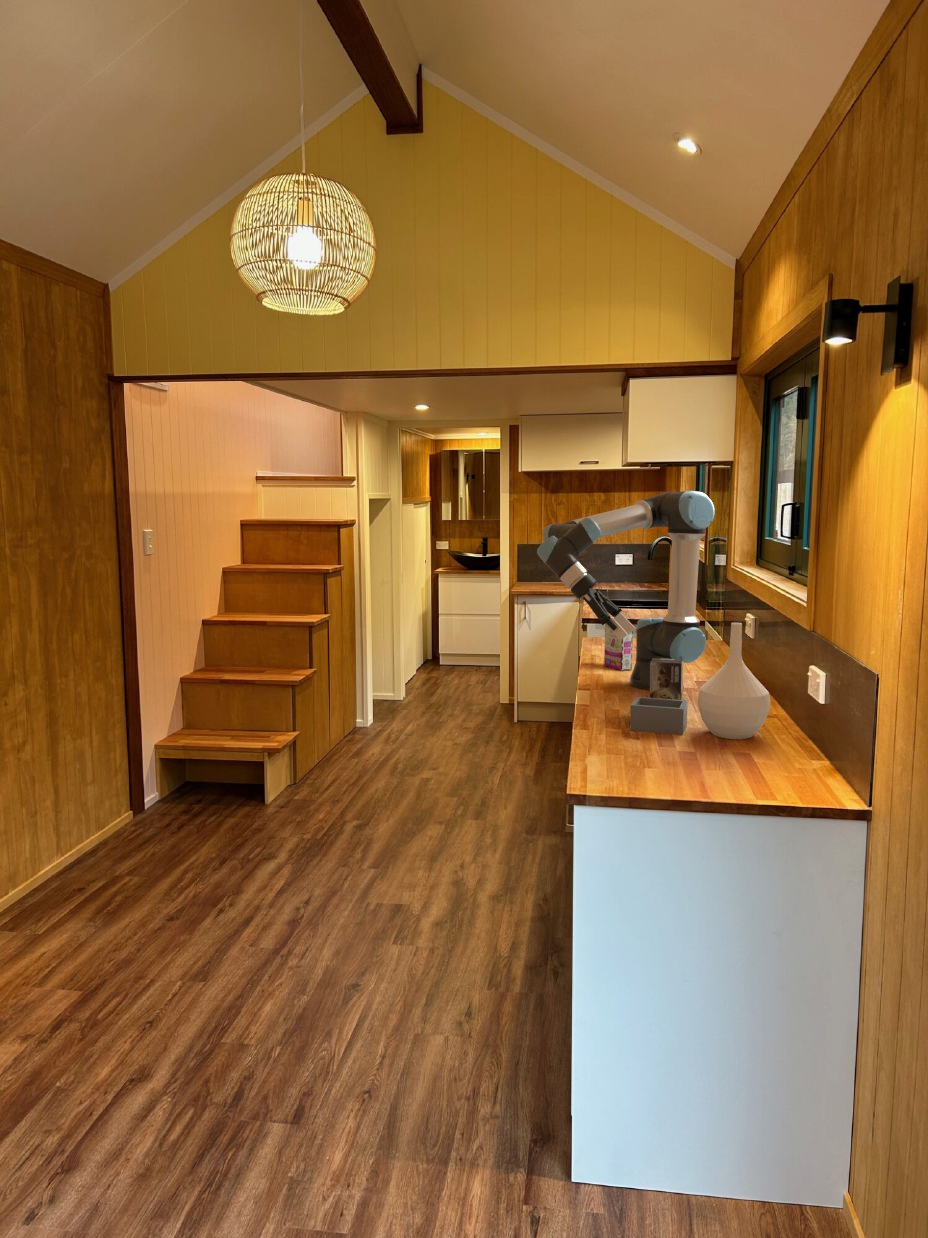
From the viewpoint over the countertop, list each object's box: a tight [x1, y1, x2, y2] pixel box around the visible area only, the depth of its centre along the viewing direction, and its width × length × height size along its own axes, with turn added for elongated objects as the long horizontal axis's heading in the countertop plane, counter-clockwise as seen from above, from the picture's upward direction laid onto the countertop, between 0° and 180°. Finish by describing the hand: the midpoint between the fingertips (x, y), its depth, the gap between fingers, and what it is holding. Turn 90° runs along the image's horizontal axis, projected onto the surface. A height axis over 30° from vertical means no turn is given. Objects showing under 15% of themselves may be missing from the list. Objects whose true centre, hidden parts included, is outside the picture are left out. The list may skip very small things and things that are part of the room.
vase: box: [697, 622, 771, 740], centre depth 225 cm, size 18×18×30 cm
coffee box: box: [649, 658, 684, 700], centre depth 248 cm, size 9×6×16 cm
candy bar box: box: [603, 623, 634, 672], centre depth 319 cm, size 11×5×16 cm, turn 27°
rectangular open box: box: [629, 696, 688, 736], centre depth 233 cm, size 11×14×7 cm
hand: (628, 634), depth 249 cm, fingers open, 13 cm apart
